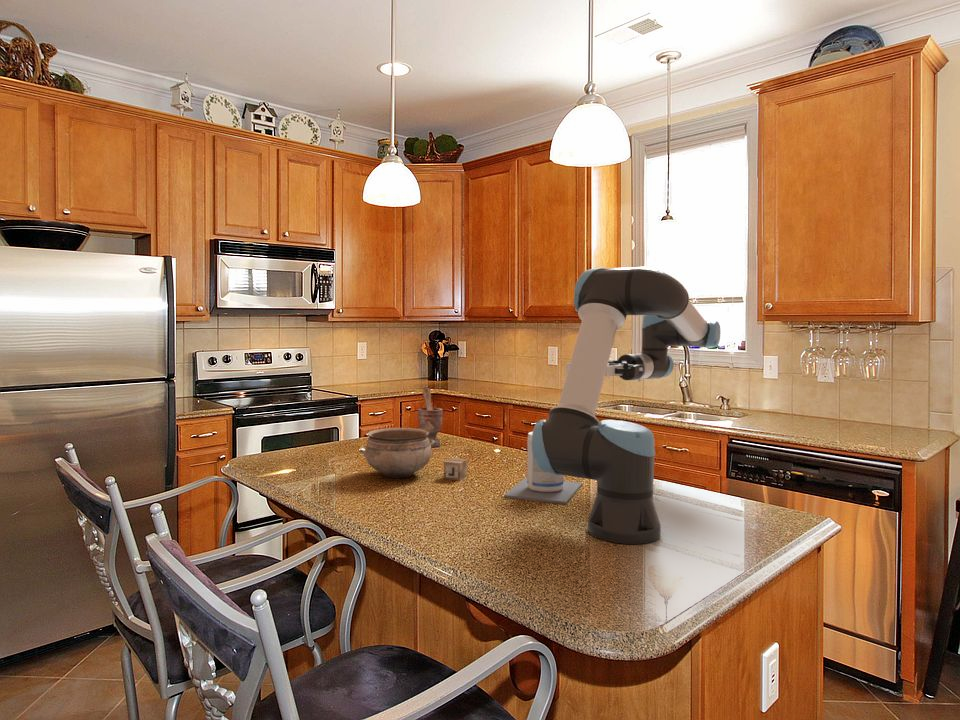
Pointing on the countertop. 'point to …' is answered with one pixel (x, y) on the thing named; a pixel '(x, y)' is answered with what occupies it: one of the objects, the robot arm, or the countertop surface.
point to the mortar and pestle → (430, 418)
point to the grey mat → (544, 493)
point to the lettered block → (455, 469)
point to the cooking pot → (398, 451)
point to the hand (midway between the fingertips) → (585, 369)
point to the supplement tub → (540, 474)
